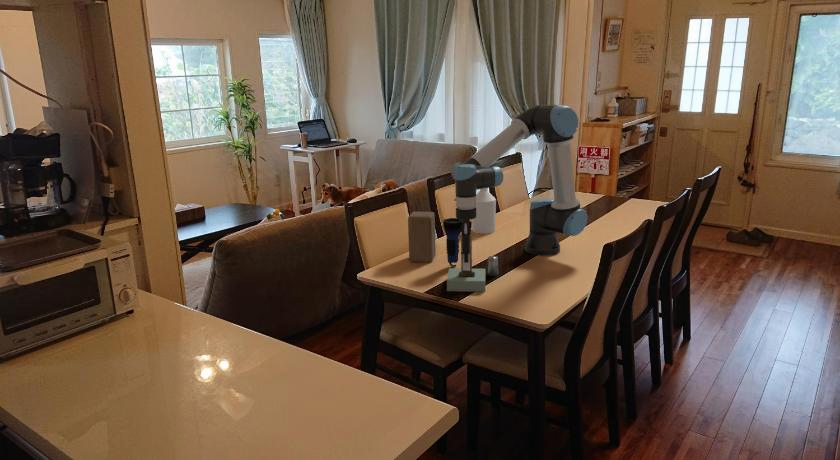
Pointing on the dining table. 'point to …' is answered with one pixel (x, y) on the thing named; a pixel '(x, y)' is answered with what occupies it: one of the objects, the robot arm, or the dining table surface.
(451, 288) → the collar block
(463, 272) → the long pin
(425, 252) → the wooden block
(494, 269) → the short pin
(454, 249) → the flashlight
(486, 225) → the bottle
